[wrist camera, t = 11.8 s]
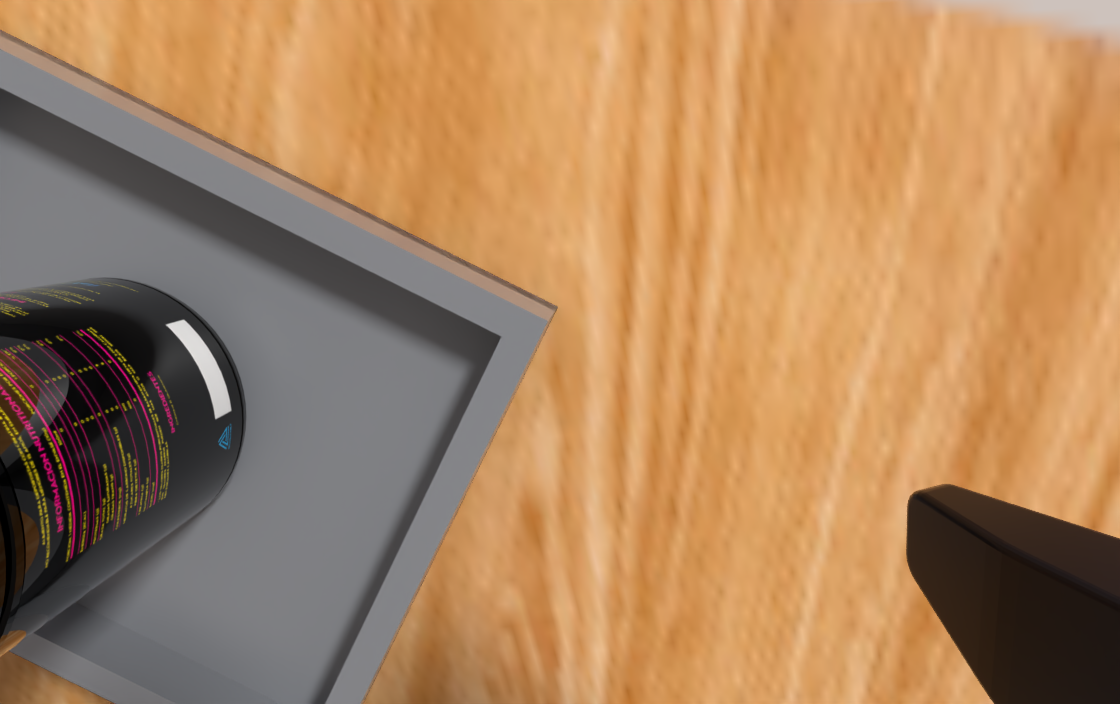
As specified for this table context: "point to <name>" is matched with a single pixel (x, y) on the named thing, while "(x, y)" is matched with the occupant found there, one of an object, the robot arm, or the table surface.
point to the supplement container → (103, 436)
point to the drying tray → (262, 395)
